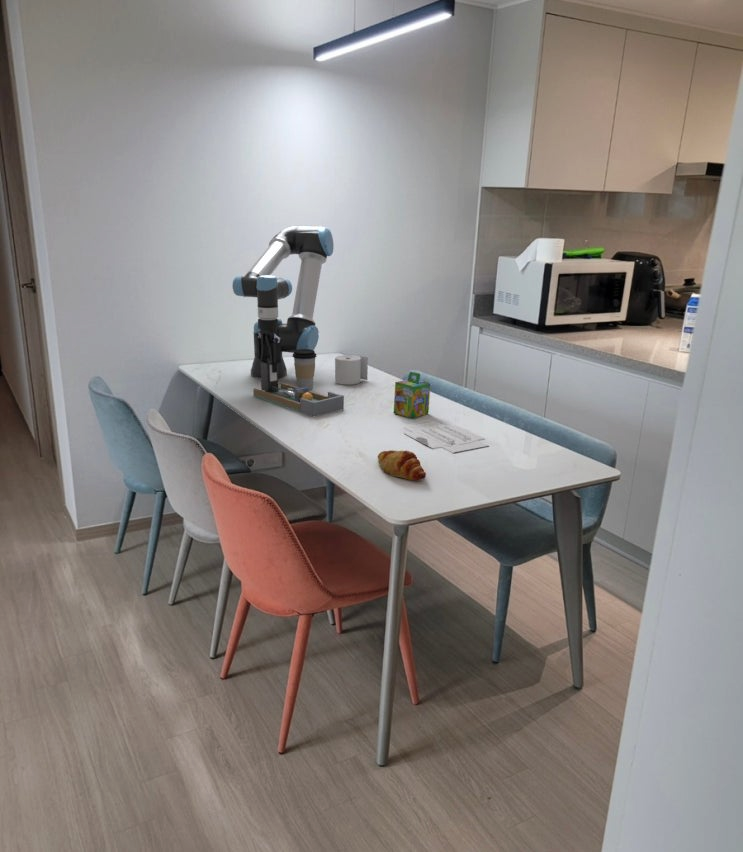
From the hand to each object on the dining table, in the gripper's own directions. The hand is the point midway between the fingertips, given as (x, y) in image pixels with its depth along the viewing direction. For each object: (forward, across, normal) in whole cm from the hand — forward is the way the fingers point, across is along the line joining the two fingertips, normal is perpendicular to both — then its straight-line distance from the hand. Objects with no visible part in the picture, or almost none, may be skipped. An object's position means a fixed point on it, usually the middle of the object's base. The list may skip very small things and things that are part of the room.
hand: (269, 379), depth 270 cm
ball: (+3, +22, 0) cm, 22 cm away
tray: (+7, +78, +12) cm, 79 cm away
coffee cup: (+6, +3, +15) cm, 16 cm away
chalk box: (+6, +54, +22) cm, 58 cm away
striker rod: (+4, +9, 0) cm, 10 cm away
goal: (+6, +30, +1) cm, 30 cm away
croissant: (+6, +89, -21) cm, 92 cm away
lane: (+6, +13, 0) cm, 14 cm away
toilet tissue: (+6, +5, +36) cm, 37 cm away
